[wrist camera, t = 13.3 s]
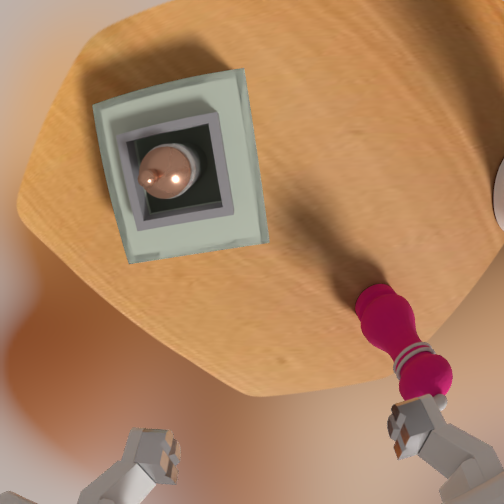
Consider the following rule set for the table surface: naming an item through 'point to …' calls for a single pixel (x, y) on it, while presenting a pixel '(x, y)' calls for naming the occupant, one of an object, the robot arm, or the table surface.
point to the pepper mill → (403, 344)
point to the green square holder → (203, 190)
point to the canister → (172, 169)
